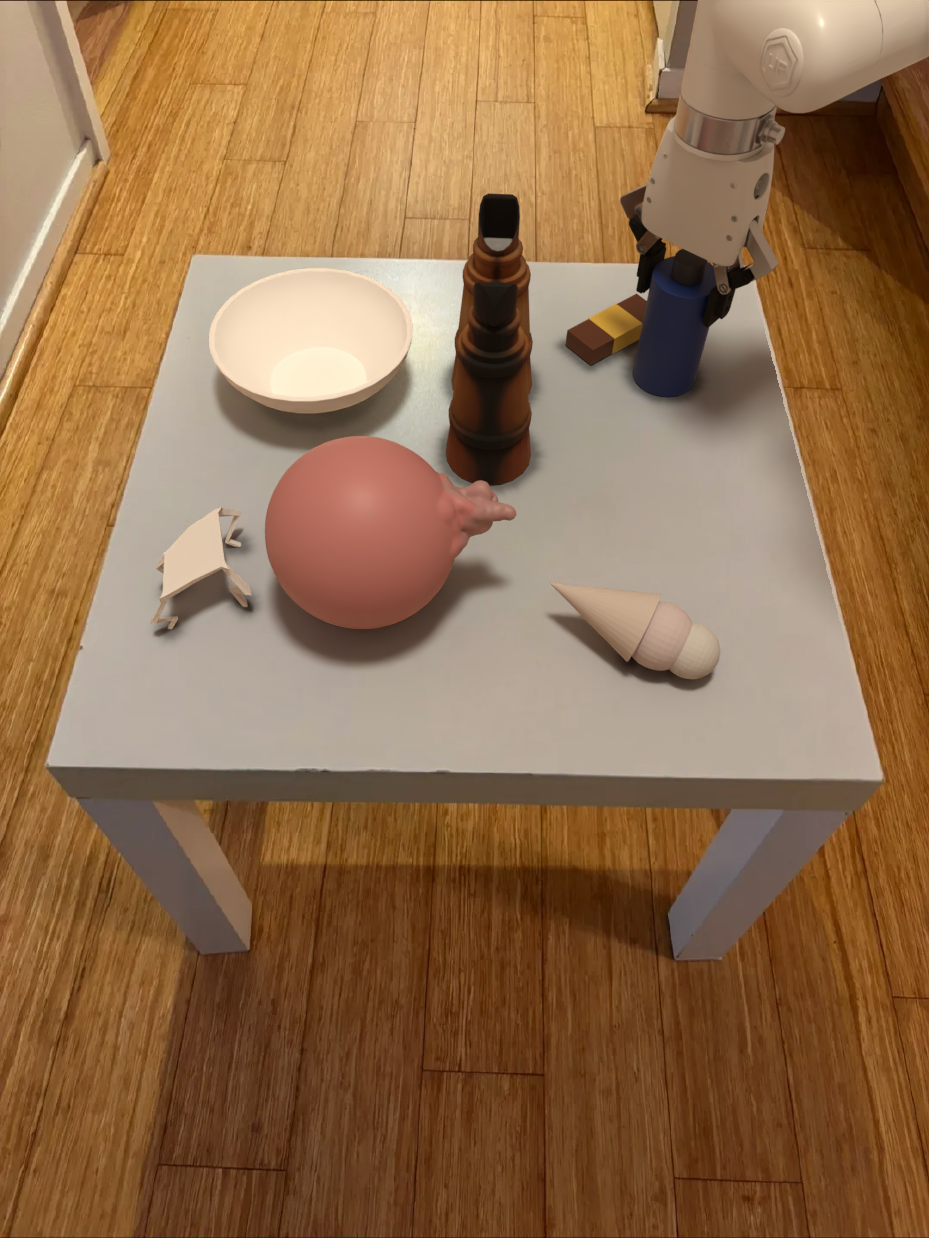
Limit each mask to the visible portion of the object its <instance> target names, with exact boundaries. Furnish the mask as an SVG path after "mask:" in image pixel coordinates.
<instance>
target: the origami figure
mask: <svg viewBox="0 0 929 1238" xmlns="http://www.w3.org/2000/svg"><path fill="white" fill-rule="evenodd" d="M241 513H242V511H240V510H236V509H230V508H224V507H222V506H220V507H218V508H215V509H214V510H212V511H210V512H209V513H207V514H206V515H204V516H203V517H201V518H200V519H198V520H196V521H195V522H194V523H192V524H191V525H189V526H188V527H187V528H186V529H185V530H184V531H183V532H182V534H181V535H180V536H179V537H178V538H177V539H176V540H175V541H174V542H173V543H172V545H170V546H169V548H168V549H167V550H166V551H164V552H162V556H163V557H162V558H161V559H160V560H158V562H157V563H156V568H155V569H156V570H157V571H158V572H159V573H161V574H162V592H161V594H160V597H159V601H160V603H159V606H158V608H157V610H156V612H155V613H154V614H153V616H152V618H151V621H150V623H151V624H154V625H155V624H163V623H167V622H168V623H169V624H168V626H167V630H173V628H174V626H175V625H176V624H177V622H178V620H179V615H175V616H173V615H172V616H166V617H161V615H162V613H163V611H164V608H165V606H166V604H167V601H168V600H170V599H171V598H173V597H175V596H176V595H178V594H180V593H181V592H182V591H184V590H186V589H187V588H190V587H191V586H192V585H194V584H196V583H197V582H199V581H201V580H203V579H206V578H207V577H209V576H211V575H213V574H215V573H217V572H219V571H221V570H222V571H223V572H224V573H225V574H226V575H227V577H228V578H229V579H230V580H231V581H232V582H233V584H235V585H230V586H229V591H230V593H231V594H232V595H233V597H234V598H235V600H237V602H239V604H240V605H241V606H242V608H248V607H249V606H248V600H247V598H246V597H245V596H252V591H251V586H250V585H249V584H248V582H247V581H245V580H244V579H243V578H242V577H241V576H240V575H239V574H238V573H236V571H235V570H233V568H232V567H230V565H228V564H227V563H226V560H225V558H226V557H225V550H224V543H225V544H228V545H230V546H232V547H235V548H241V547H242V542H240V541H238V540H235V539H231V538H232V535H233V532H234V530H235V528H236V526H237V524H238V521H239V519H240V517H241ZM220 517H232V520H231V523H230V525H229V528H228V531H227V534H226V537H225V542H224V543H223V535H222V528H221V520H220Z"/></svg>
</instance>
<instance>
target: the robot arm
mask: <svg viewBox="0 0 929 1238" xmlns="http://www.w3.org/2000/svg"><path fill="white" fill-rule="evenodd" d="M691 30H692V31H691V35H690V40H689V45H688V50H687V56H686V59H685V60H686V61H685V67H684V70H683V77H682V82H681V87H680V91H679V92H680V93H679V96H678V97H679V98H678V103H677V108H676V113H675V116H673V117H672V118H670V120H669V122H668V124H667V125H666V128H665V130H664V132H663V135H662V138H661V140H660V143H659V145H658V147H657V150H656V153H655V156H654V159H653V161H652V165H651V168H650V172H649V176H648V178H647V182H646V183H644V184H641V185H640V186H637V187H635V188H632V189H630V190H628V191H627V192H626V193H625V194H623V195H622V196H621V197H620V199H619V203H620V205H621V208H622V209H623V211H624V213H625V216H626V218H627V219H628V227H629V228H630V231H631V232H632V234H633V236H634V238H635V240H636V244H635V249H636V251H637V253H639V260H638V265H637V270H636V277H637V278H638V279H637V283H636V288H635V289H636V290H635V292H636V293H639V294H645V293H646V292H647V291H649V288H650V283H651V278H652V273H653V269H654V267H655V266H656V265H657V264H658V263H659V262H660V261H662V260H663V259H666V258H665V257H666V253H667V247H666V246H667V243H665V242H668V243H670V244H672V245H675V246H677V247H678V248H681V249H685V250H687V251H689V252H691V253H693V254H695V255H697V256H699V257H701V258H703V259H706V260H708V262H709V263H711V264H712V265H713V268H714V273H715V279H716V284H717V285H716V286H715V287H714V288H713V289H712V290H711V291H710V293H709V297H708V301H707V305H706V309H705V313H704V316H703V320H702V323H703V326H705V327H707V328H709V329H710V327H712V326H713V325H714V324H715V323H716V322H717V321H718V320H719V319H720V320H723V319H724V318H725V317H726V316H727V315H728V314H729V313H730V311H731V307H732V303H733V300H734V296H735V293H736V290H737V289H740V288H742V287H744V286H747V285H749V284H751V283H752V282H754V281H757V280H758V279H761V278H763V277H766V276H767V275H769V274H770V273H771V272H773V270H775V269H776V268H777V267H778V266H779V261H778V258H777V257H776V255H775V253H774V251H773V249H772V247H771V245H770V244H769V242H768V240H767V237H766V236H765V234H764V233H763V227H764V223H765V220H766V219H765V218H766V215H767V209H768V204H769V199H770V194H771V188H772V181H773V172H774V165H775V163H774V162H775V161H774V160H775V146H777V145H779V144H780V142H782V140H783V138H784V135H785V133H786V127H784V126H782V125H780V124H779V123H778V122H777V121H776V117H775V116H776V113H777V109H778V108H779V109H781V110H783V111H785V112H788V113H792V114H806V113H811V112H815V111H818V110H820V109H823V108H824V107H826V106H828V105H831V104H833V103H835V102H837V101H839V100H841V99H842V98H845V97H846V96H848V95H849V96H850V95H851V94H853V93H855V92H856V91H858V90H860V89H863V88H865V87H867V86H868V85H871V84H873V83H875V82H877V81H879V80H881V79H884V78H886V77H888V76H891V75H893V74H895V73H897V72H899V71H901V70H903V69H905V68H907V67H909V66H912V65H914V64H916V63H918V62H920V61H923V60H924V59H927V58H929V0H697V3H696V8H695V13H694V20H693V25H692V29H691ZM663 240H664V241H665V242H664V241H663ZM743 248H746V249H747V252H748V253H749V255H750V257H751V258H752V260H753V263H750V264H747V265H745V266H744V262H743V254H742V250H743Z"/></svg>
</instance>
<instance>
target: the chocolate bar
mask: <svg viewBox="0 0 929 1238" xmlns="http://www.w3.org/2000/svg"><path fill="white" fill-rule="evenodd" d="M646 303H647V299H645V298H643V296H641V295H639V294H638V293H634V294H633V295H631V296H629V297H626V298H625V299H623V300H622V301H620V302H618V303H614V304H613V305H611V306H608V307H607V308H605V309H603V310H601V311H599V312H598V313H596V314H594V315H592V316H590V317H588V318H587V319H586V320H584V321H582V322H580V323H578V324H576V325H574V326H572V327H570V328H568V329H567V331H566V339H565V346H566V347H567V348H568V349H569V350H571V351H572V352H573V353H574V354H576V355H577V356H578V357H580V358H581V359H582V360H583V361H585V362H586V363H587V364H588V365H589V366H593V365H594V364H596V363H597V362H600V361H601V360H603V359H605V358H607V357H608V356H610V355H614V354H616V353H617V352H619V351H621V350H623V349H624V348H626V347H628V346H630V345H632V344H634V343H636V342H637V341H639V338H640V333H641V328H642V323H643V318H644V313H645V308H646Z"/></svg>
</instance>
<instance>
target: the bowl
mask: <svg viewBox="0 0 929 1238" xmlns="http://www.w3.org/2000/svg"><path fill="white" fill-rule="evenodd" d="M413 328H414V324H413V320H412V316H411V313H410V311H409V309H408V308H407V305H406V304H405V302H404V301H403V300H402V298H401V297H400V296H398V294H396V293H395V291H393V289H391V288H389V287H388V286H386V285H385V284H384V283H382V282H380V281H378V280H377V279H376V280H375V279H373V278H372V277H369V276H367V275H364V274H362V273H358V272H354V271H350V270H345V269H339V268H338V269H337V268H331V267H308V268H299V269H291V270H286V271H282V272H278V273H274V274H271V275H268V276H266V277H263V278H260V279H258V280H255V281H253V282H251V283H250V284H248V285H245V286H244V287H242V288H241V289H239V290H238V291H237V292H235V293H234V294H233V295H231V296H230V297H229V298H228V299H226V301H225V302H224V303H223V305H222V306H221V307H220V308H219V309H218V310H217V312H216V314H215V316H214V317H213V320H212V321H211V323H210V328H209V333H208V348H209V352H210V354H211V356H212V360H213V362H214V364H215V365H216V367H217V369H218V370H219V372H220V373H221V374H222V375H223V377H224V378H225V380H226V381H228V383H229V384H230V386H232V387H233V388H235V389H236V390H237V391H238V392H240V393H241V394H242V395H244V396H246V397H247V398H249V399H252V400H253V401H255V402H257V403H259V404H261V405H263V406H264V407H268V408H271V409H273V410H274V409H275V410H277V411H281V412H288V413H293V414H322V413H330V412H335V411H339V410H343V409H346V408H349V407H352V406H355V405H357V404H359V403H361V402H364V401H366V400H367V399H368V398H371V397H372V396H374V395H376V393H378V392H379V391H381V390H382V389H383V388H384V387H385V386H386V385H387V384H388V383H389V382H390V381H391V380H392V379H393V378H394V377H396V375H397V374H398V372H399V371H400V370H401V368H402V366H403V365H404V363H405V361H406V359H407V357H408V353H409V351H410V348H411V345H412V341H413V333H414V330H413Z"/></svg>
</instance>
